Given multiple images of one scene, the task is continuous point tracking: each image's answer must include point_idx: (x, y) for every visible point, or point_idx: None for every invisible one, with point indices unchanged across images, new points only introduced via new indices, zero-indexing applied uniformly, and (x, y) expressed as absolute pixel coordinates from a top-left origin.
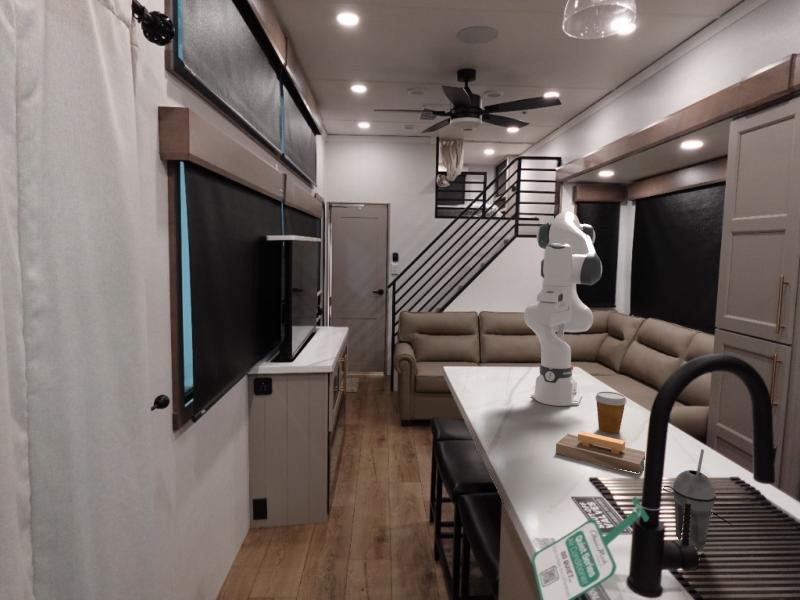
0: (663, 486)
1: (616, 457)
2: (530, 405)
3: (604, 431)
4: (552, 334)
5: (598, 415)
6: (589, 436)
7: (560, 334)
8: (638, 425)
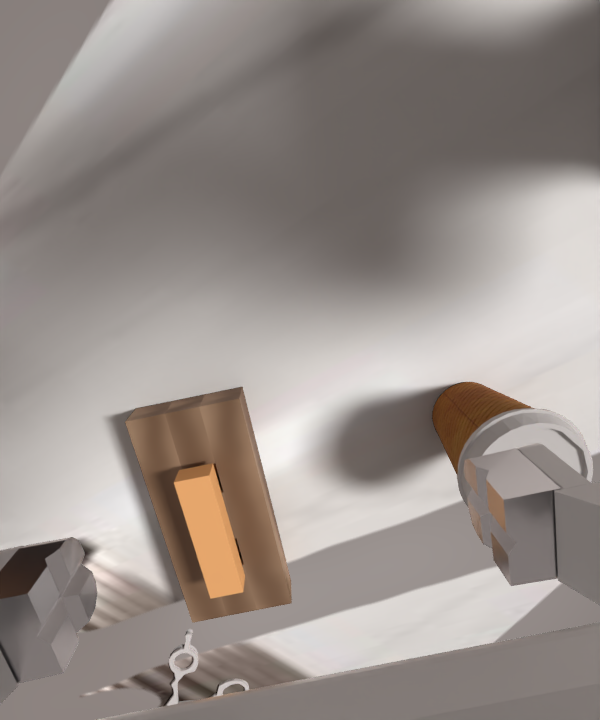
0: (181, 652)
1: (183, 574)
2: (547, 17)
3: (434, 414)
4: (14, 688)
5: (459, 408)
6: (184, 515)
7: (486, 520)
8: (589, 448)
